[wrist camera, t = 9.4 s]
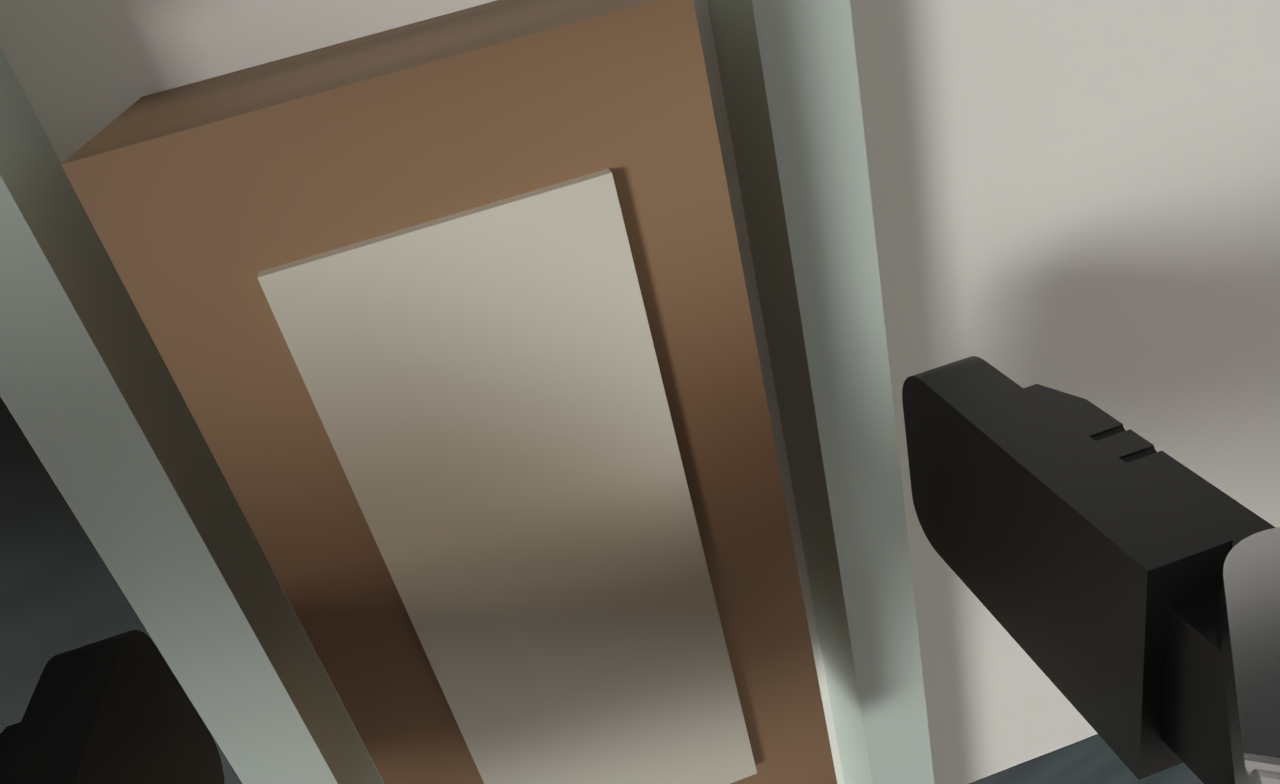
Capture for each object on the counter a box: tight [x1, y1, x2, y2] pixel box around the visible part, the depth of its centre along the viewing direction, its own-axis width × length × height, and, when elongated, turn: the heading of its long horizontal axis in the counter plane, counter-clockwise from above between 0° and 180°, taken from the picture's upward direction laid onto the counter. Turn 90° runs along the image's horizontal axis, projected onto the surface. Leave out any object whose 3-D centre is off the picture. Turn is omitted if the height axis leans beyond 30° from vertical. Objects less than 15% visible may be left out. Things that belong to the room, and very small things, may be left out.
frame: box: [61, 0, 837, 784], centre depth 11 cm, size 10×5×3 cm, turn 13°
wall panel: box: [0, 0, 1280, 784], centre depth 13 cm, size 20×19×3 cm
